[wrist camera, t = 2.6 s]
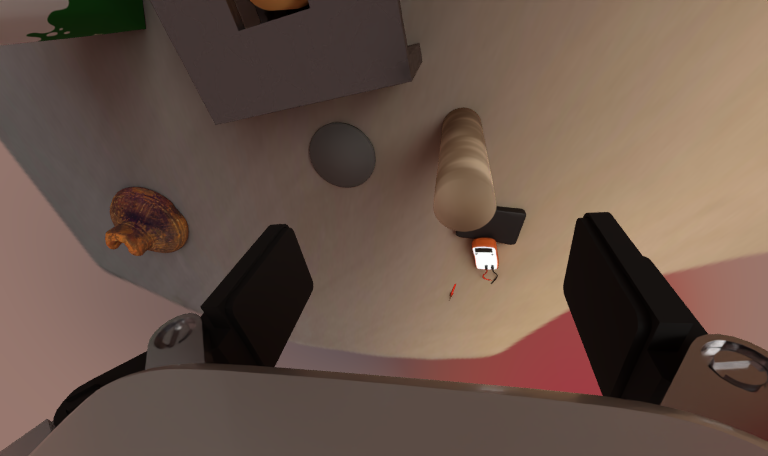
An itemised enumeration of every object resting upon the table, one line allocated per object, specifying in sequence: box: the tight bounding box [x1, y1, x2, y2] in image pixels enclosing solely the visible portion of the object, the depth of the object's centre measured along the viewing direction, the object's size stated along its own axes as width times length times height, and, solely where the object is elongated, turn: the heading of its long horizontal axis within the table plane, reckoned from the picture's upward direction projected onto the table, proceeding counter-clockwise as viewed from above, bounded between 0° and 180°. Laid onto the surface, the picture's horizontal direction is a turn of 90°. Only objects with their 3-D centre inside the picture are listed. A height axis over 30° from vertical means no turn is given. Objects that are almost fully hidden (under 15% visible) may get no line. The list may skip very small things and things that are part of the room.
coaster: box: [309, 123, 375, 187], centre depth 38 cm, size 8×8×1 cm
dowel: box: [433, 108, 496, 232], centre depth 27 cm, size 4×4×16 cm
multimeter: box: [449, 206, 526, 300], centre depth 42 cm, size 18×12×3 cm, turn 172°
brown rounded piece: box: [105, 187, 188, 256], centre depth 48 cm, size 12×12×7 cm
